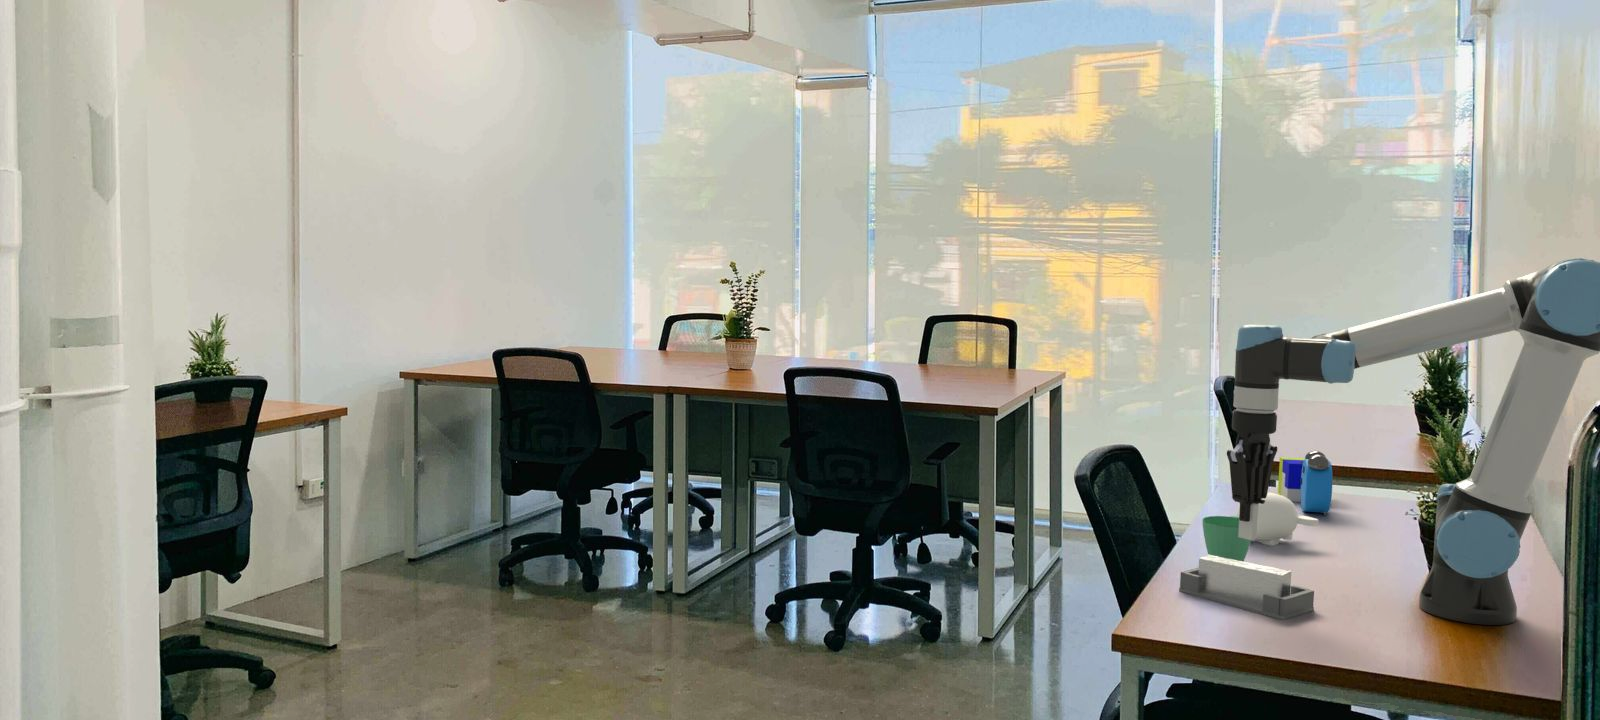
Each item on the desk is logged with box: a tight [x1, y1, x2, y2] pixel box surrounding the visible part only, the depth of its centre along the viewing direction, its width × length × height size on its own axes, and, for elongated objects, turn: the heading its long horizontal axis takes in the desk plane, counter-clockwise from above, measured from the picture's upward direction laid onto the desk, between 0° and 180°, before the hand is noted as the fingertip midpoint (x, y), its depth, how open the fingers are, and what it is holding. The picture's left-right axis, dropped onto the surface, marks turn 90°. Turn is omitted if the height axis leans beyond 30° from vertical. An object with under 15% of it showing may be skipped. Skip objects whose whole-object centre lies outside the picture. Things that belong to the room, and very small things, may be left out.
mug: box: [1202, 515, 1252, 562], centre depth 235 cm, size 15×10×10 cm
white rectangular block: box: [1198, 554, 1292, 604], centre depth 213 cm, size 16×4×6 cm, turn 46°
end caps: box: [1178, 567, 1315, 621], centre depth 212 cm, size 21×10×4 cm, turn 37°
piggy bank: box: [1236, 492, 1319, 546], centre depth 257 cm, size 12×12×15 cm
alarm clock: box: [1300, 450, 1333, 516], centre depth 289 cm, size 13×6×15 cm, turn 162°
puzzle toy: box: [1277, 456, 1305, 503], centre depth 306 cm, size 10×10×10 cm
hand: (1247, 538), depth 212 cm, fingers closed
